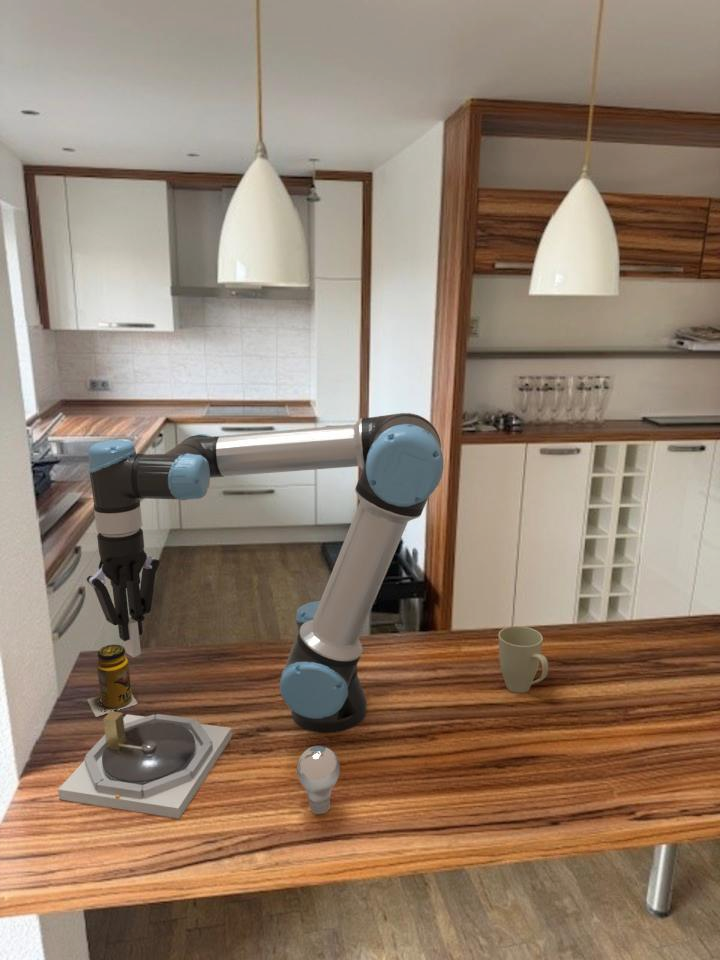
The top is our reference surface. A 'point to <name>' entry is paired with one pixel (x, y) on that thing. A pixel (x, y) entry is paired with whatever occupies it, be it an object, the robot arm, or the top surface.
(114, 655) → the condiment
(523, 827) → the top surface
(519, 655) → the mug
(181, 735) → the dial
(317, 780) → the light bulb
